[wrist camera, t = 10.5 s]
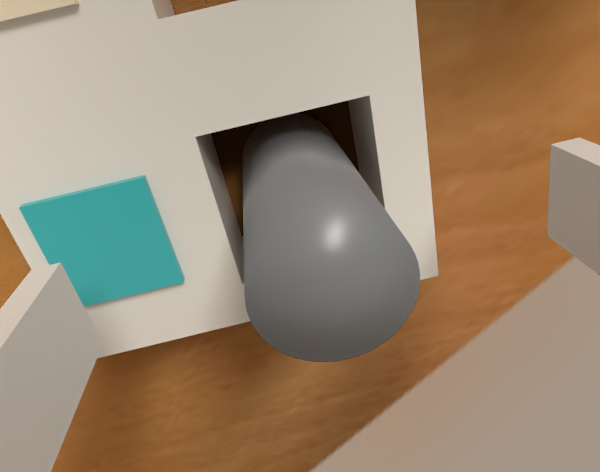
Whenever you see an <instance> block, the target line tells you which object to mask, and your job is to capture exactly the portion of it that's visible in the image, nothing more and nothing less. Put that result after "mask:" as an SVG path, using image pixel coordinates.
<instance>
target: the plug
mask: <svg viewBox="0 0 600 472" xmlns="http://www.w3.org/2000/svg"><path fill="white" fill-rule="evenodd" d="M242 171H243V234H244V295H245V305H246V310H247V314H248V316H249V319H250V321H251V323H252V325H253V327H254V328H255V330H256V331H257V333H258V334H259V335H260V336H261V337H262V338H263V339H264V340H265V341H266V342H267V343H268V344H269V345H271V346H272V347H273V348H275V349H276V350H278V351H280V352H282V353H284V354H286V355H288V356H291V357H294V358H297V359H301V360H305V361H313V362H333V361H341V360H346V359H350V358H353V357H357V356H359V355H362V354H364V353H367V352H369V351H371V350H373V349H375V348H376V347H378V346H380V345H381V344H383V343H384V342H386V341H387V340H388V339H389V338H390V337H392V336H393V335H394V334H395V333H396V332H397V331H398V330H399V329H400V328H401V327H402V325H403V324H404V323H405V321H406V320H407V319H408V317H409V315H410V314H411V312H412V310H413V308H414V305H415V303H416V300H417V297H418V293H419V287H420V270H419V264H418V261H417V258H416V255H415V253H414V251H413V249H412V247H411V245H410V244H409V242H408V241H407V239H406V238H405V237H404V235H403V234H402V232H401V231H400V230H399V228H398V227H397V225H396V224H395V223H394V221H393V220H392V218H391V217H390V216H389V214H388V213H387V211H386V210H385V209H384V207H383V206H382V204H381V203H380V202H379V200H378V199H377V197H376V196H375V195H374V193H373V192H372V190H371V189H370V188H369V186H368V185H367V183H366V182H365V181H364V179H363V178H362V176H361V175H360V174H359V172H358V171H357V169H356V168H355V167H354V165H353V164H352V162H351V161H350V160H349V158H348V157H347V155H346V154H345V153H344V151H343V150H342V148H341V147H340V146H339V144H338V143H337V141H336V140H335V139H334V137H333V136H332V134H331V133H330V132H329V130H328V129H327V128H326V127H325V126H324V125H323V124H322V123H321V122H319V121H318V120H316V119H314V118H313V117H310V116H308V115H305V114H301V113H293V114H289V115H285V116H281V117H276V118H272V119H268V120H265V121H263V122H262V123H260V124H259V125H258V126H257V127H256V128H255V129H254V130H253V131H252V133H251V134H250V136H249V137H248V139H247V141H246V144H245V147H244V151H243V158H242Z"/></svg>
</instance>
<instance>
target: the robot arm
mask: <svg viewBox="0 0 600 472" xmlns="http://www.w3.org/2000/svg"><path fill="white" fill-rule="evenodd" d="M547 236H548V237H549V238H551V239H552V240H553V241H555V242H556V243H557V244H559V245H560V246H561V247H563V248H564V249H565V250H567V251H568V252H570V253H571V254H572V255H574V256H575V257H576V258H578V259H579V260H580V261H582V262H583V263H584V264H586V265H587V266H588V267H590V268H591V269H592V270H594V271H595V272H596V273H598V274H599V275H600V145H597V144H595V143H592V142H589V141H587V140H584V139H582V138H576V139H571V140H567V141H563V142H559V143H555V144H551V158H550V182H549V206H548V229H547ZM102 345H103V342H102V340H101V339H100V337H99V335H98V333H97V331H96V329H95V327H94V325H93V323H92V321H91V319H90V317H89V316H88V314H87V312H86V310H85V308H84V306H83V304H82V302H81V300H80V298H79V296H78V294H77V292H76V291H75V289H74V287H73V285H72V283H71V281H70V279H69V277H68V275H67V273H66V271H65V269H64V268H63V266H62V264H61V262H60V263H56V264H52V265H47V266H43V267H39V268H35V269H32V270H31V271H30V272H29V273H28V275H27V276H26V277H25V279H24V280H23V281H22V282H21V284H20V285H19V286H18V287H17V289H16V290H15V291H14V292H13V294H12V295H11V296H10V297H9V299H8V300H7V301H6V303H5V304H4V305H3V306H2V308H1V309H0V472H51V470H52V468H53V465H54V463H55V460H56V458H57V455H58V453H59V450H60V448H61V446H62V443H63V441H64V438H65V436H66V433H67V431H68V428H69V426H70V423H71V421H72V419H73V416H74V414H75V411H76V409H77V406H78V404H79V401H80V399H81V396H82V394H83V391H84V389H85V387H86V384H87V382H88V379H89V377H90V374H91V372H92V369H93V367H94V364H95V362H96V360H97V357H98V355H99V352H100V350H101V347H102Z"/></svg>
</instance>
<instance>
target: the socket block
mask: <svg viewBox="0 0 600 472" xmlns="http://www.w3.org/2000/svg"><path fill="white" fill-rule="evenodd" d="M343 101H348V105H349V112H350V118H351V124H352V131H353V137H354V143H355V150H356V156H357V162H358V168H359V174H360V175H361V176H362V178H363V179H364V181H365V182H366V183H367V185H368V186H369V188H370V189H371V190H372V192H373V193H374V195H375V196H376V197H377V199H378V200H379V202H380V203H381V204H382V206H383V207H384V209H385V210H386V211H387V213H388V214H389V216H390V217H391V218H392V220H393V221H394V223H395V224H396V225H397V227H398V228H399V230H400V231H401V232H402V234H403V235H404V237H405V238H406V239H407V241H408V242H409V244H410V245H411V247H412V249H413V251H414V253H415V255H416V258H417V261H418V264H419V270H420V280H422V279H427V278H431V277H435V276H438V265H437V253H436V241H435V229H434V217H433V205H432V193H431V181H430V170H429V158H428V146H427V134H426V122H425V110H424V98H423V86H422V75H421V63H420V51H419V39H418V27H417V15H416V3H415V0H238V1H233V2H229V3H225V4H221V5H216V6H212V7H208V8H204V9H200V10H195V11H191V12H187V13H183V14H178V15H175V13H174V10H173V6H172V3H171V0H0V214H1V216H2V218H3V220H4V221H5V223H6V225H7V227H8V229H9V230H10V232H11V234H12V236H13V237H14V239H15V241H16V243H17V245H18V246H19V248H20V250H21V252H22V254H23V255H24V257H25V259H26V261H27V263H28V264H29V266H30V268H31V270H32V269H35V268H39V267H43V266H47V265H52V264H56V263H60V262H61V264H62V266H63V268H64V269H65V271H66V273H67V275H68V277H69V279H70V281H71V283H72V285H73V287H74V289H75V291H76V292H77V294H78V296H79V298H80V300H81V302H82V304H83V306H84V308H85V310H86V312H87V314H88V316H89V317H90V319H91V321H92V323H93V325H94V327H95V329H96V331H97V333H98V335H99V337H100V339H101V340H102V342H103V345H102V347H101V350H100V352H99V355H98V357H97V358H101V357H105V356H109V355H113V354H117V353H121V352H126V351H130V350H134V349H138V348H142V347H146V346H150V345H154V344H159V343H163V342H167V341H171V340H175V339H179V338H183V337H187V336H192V335H196V334H200V333H204V332H208V331H212V330H216V329H220V328H225V327H229V326H233V325H237V324H241V323H245V322H249V321H250V319H249V316H248V314H247V310H246V305H245V295H244V236H242V235H241V232H240V228H239V225H238V222H237V218H236V215H235V212H234V208H233V205H232V202H231V198H230V195H229V192H228V189H227V185H226V182H225V179H224V175H223V172H222V169H221V165H220V162H219V159H218V155H217V152H216V149H215V145H214V142H213V139H212V135H211V133H214V132H218V131H222V130H226V129H230V128H234V127H239V126H243V125H247V124H251V123H255V122H260V121H264V120H268V119H272V118H276V117H281V116H285V115H289V114H293V113H297V112H302V111H306V110H310V109H314V108H318V107H323V106H327V105H331V104H335V103H339V102H343Z"/></svg>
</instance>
